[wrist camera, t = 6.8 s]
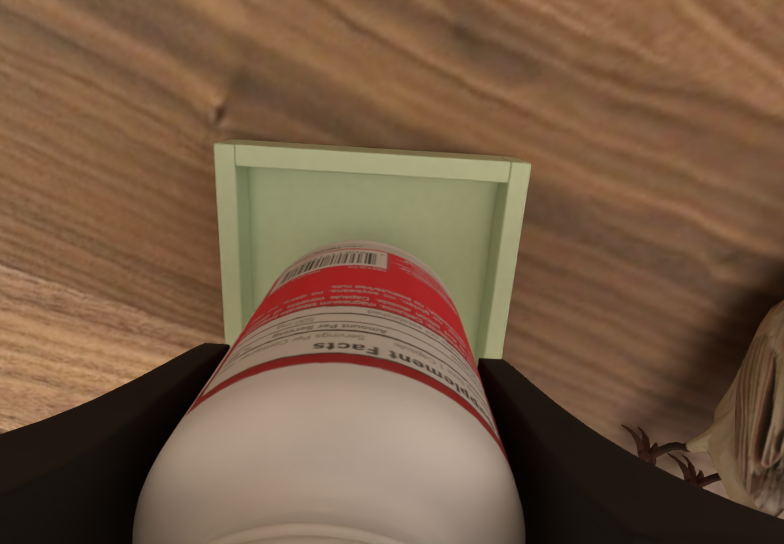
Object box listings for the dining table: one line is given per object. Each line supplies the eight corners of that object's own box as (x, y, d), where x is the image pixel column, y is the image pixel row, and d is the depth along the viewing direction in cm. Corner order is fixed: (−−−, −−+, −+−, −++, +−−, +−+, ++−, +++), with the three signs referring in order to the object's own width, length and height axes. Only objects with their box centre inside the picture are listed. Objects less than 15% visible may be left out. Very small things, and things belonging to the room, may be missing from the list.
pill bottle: (374, 442, 16) (342, 1023, 6) (226, 339, 15) (-142, 851, 5) (499, 316, 15) (753, 805, 4) (346, 190, 14) (195, 462, 3)
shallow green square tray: (244, 386, 21) (228, 415, 19) (233, 138, 17) (212, 142, 15) (481, 398, 21) (491, 428, 19) (516, 156, 17) (532, 162, 15)
